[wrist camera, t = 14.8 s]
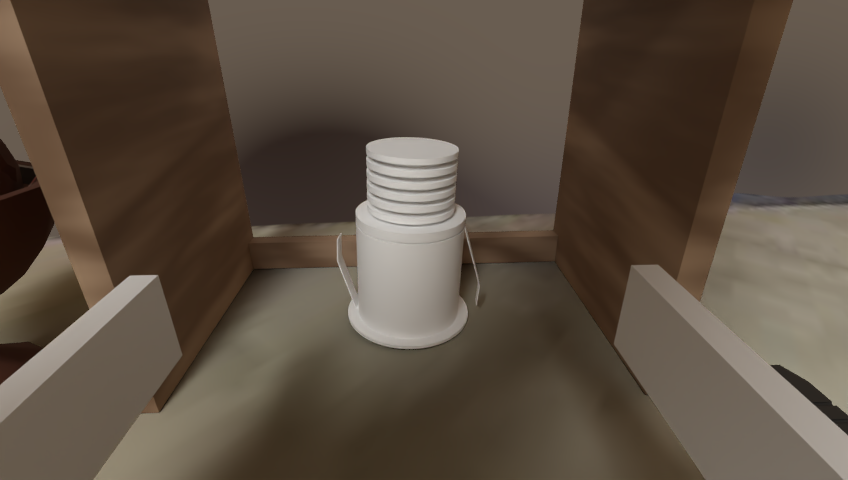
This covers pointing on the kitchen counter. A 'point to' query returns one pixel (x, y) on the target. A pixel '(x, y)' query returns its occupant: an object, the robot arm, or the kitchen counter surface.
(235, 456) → the kitchen counter surface
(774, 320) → the kitchen counter surface
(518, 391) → the kitchen counter surface
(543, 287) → the kitchen counter surface
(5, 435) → the robot arm
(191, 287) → the counter shelf
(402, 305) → the downlight
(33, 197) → the ice cream bowl
